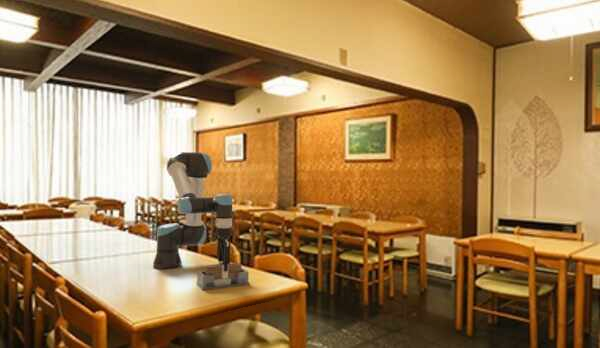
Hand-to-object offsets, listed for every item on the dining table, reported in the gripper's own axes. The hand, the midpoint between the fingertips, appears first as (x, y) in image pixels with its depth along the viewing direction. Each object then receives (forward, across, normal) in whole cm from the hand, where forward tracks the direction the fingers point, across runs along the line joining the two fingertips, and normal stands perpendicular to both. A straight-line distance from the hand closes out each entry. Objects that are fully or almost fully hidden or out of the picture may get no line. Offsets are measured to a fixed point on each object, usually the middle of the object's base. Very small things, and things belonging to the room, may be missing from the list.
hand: (223, 276), depth 186 cm
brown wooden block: (+1, 0, 0) cm, 1 cm away
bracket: (+4, 0, 0) cm, 4 cm away
